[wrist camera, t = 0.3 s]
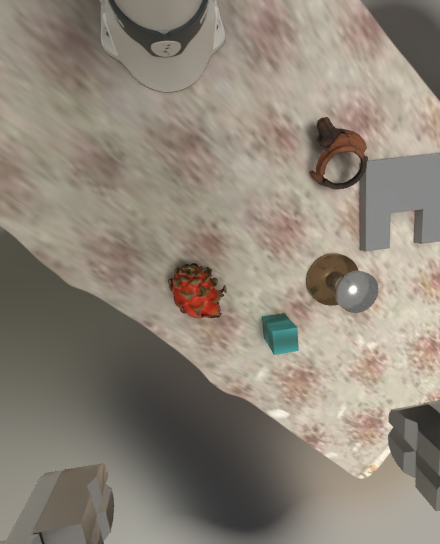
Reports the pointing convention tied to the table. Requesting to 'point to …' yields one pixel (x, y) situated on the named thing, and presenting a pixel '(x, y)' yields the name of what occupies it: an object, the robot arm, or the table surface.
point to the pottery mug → (338, 151)
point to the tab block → (280, 333)
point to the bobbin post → (341, 283)
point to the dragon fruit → (196, 291)
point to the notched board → (400, 198)
